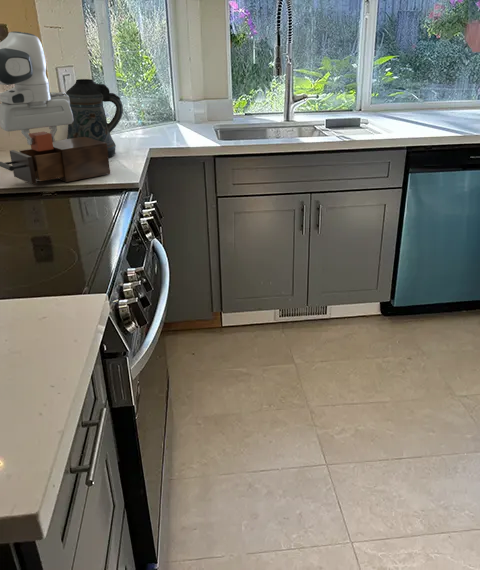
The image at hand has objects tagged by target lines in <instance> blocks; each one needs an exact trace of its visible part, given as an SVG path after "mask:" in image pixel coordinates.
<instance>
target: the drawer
mask: <svg viewBox="0 0 480 570" xmlns="http://www.w3.org/2000/svg"><path fill="white" fill-rule="evenodd" d="M9 156H10V160H11V161H6V162H4V161H0V168H3V169H5V170H8V171H10V172H13V176H14V178H16V179H18V180H21V181H23V182H26V183H28V184H31V185H37V181H38V182H44V181H45V182H46V181H50V180H56V179H58V178H61V177H64V171H63V164H62V157H61V152H60V151H57V150H54V149H52V150H45V151H36V150H33V149H31V148H27V149H20V150H15V149H11V150H9Z"/></svg>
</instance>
